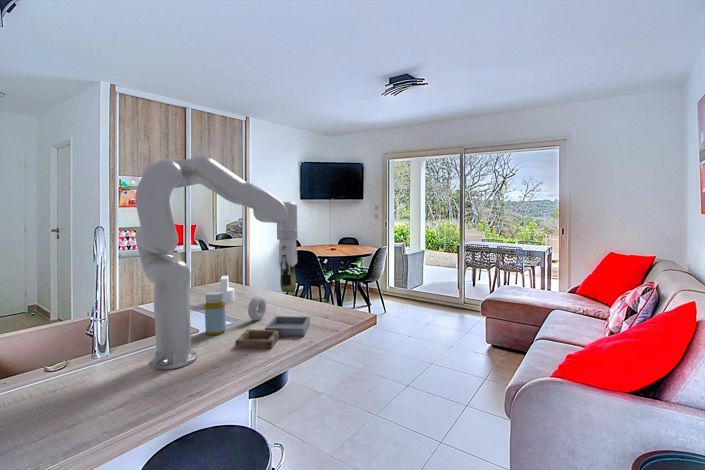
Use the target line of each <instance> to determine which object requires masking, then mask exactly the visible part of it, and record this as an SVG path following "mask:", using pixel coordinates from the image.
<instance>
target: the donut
mask: <svg viewBox="0 0 705 470" xmlns="http://www.w3.org/2000/svg"><path fill="white" fill-rule="evenodd" d="M266 310H267V302H266V300H265V298H264V297H263V296H260V295H256V296H254V297H253V298H251V300H250V301H249V304H248V308H247V312H248V317H249V318H250V320H252V321H260V320H261V319H263V317H264V316H265V314H266Z"/></svg>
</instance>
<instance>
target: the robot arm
mask: <svg viewBox="0 0 705 470" xmlns="http://www.w3.org/2000/svg"><path fill="white" fill-rule="evenodd" d="M199 184H200V185H202V186H204V187H205V188H207V189H209V190H210V191H212V192H213V193H215V194H217V195H218V196H220V197H221V198H223V199H224V200H226V201H228V202H231V203H233V204H236V205H238V206H239V205H240V206H244V207H247V208H250V209H252V213H253V217H254V218H255V219H256V220H257V221H259V222H260V223H268V224H269V223H270V224H276V240H278V242H279V243H278V244H279V245H278V247H279V248H278V262H279V263H278V264H279V267H280V266H281V265H282V266H281V267H282V285H283V286H290V285H291V275H290V266H291V267H293V266H294V265H295V266H296V265H297V264H298V251H297V250H298V249H297V248H298V247H297V240H298V205H297V203H295V202H294V201H282V200H280V199H279V198H277V197H276V196H274V195H273V194H272V193H270V192H269V191H266V190H265V189H263V188H261V187H258V186H257V185H254V184H253V183H251V182H248V181H246V180H244V179H243V178H241V177H240V176H238V175H236V174H235V173H233V172H232V171H231V170H229V169H228V168H226V167H225V166H224V165H222V164H220V163H219V162H218V161H216V160H215V159H213V158H211V157H209V156H206V155H199V156H195V157H191V158H186V159H185V158H184V159H181V160H180V159H179V160H171V159H161V160H158V161H154V162H152V163H150V164H148V165H147V166H146V167H144V169H143V171H142V177H141V179H140V180H139V182H138V183H137V188H136V191H135V197H134V198H135V199H134V200H135V205H136V206H135V207H136V210H137V212H136V213H137V216H138V221H139V224H140V226H139V227H138V229H137V231H136V234H135V242H136V247H137V251H138V254H139V258H140V262H141V264H142V268H143V271H144V275H145V276H146V278H147V279H148V280H149V282H151V283H153V284H154V292H153V293H154V294H153V313H154V327H155V328H154V329H155V330H154V332H155V334H154V335H155V356H153V357H152V358H151V360H150V361H149V363H148V367H149V368H150V369H157V370H171V369H177V368H178V369H179V368H182V367H184V366H188V365H190V364H191V363H193V362H195V361H196V360H197V358H198V354H197V351H195V350H193V349H192V337H191V334H192V333H191V313H190V312H191V309H190V287H191V279H192V277H191V271H190V268H189V266H188V265H187V263H186V262H185V261H183V260H182V259H180V258H178V257H176V256H175V252H174V251H175V250H176V249H177V247H178V244H179V235H178V232H177V229H176V225H175V222H174V218H173V213H172V209H171V202H170V201H171V200H170V199H171V195H172V193H173V191H174V190H175V189H177V188H178V189H179V188H183V187H189V186H195V185H199ZM281 263H282V264H281ZM286 265H288V266H286ZM281 267H280V268H281ZM287 268H288V269H287Z"/></svg>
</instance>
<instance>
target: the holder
mask: <svg viewBox="0 0 705 470" xmlns="http://www.w3.org/2000/svg"><path fill="white" fill-rule="evenodd" d="M280 338H281V336H280V330H265V329H246V330H245V331H244V332H243V333H242V334H241V335H240V336H238V338H237V339H235V349H254V350H255V349H257V350H258V349H259V350H261V349H262V350H264V349H265V350H272V349H273V348H274V346H275V345H276V343H277V342H278V340H279V339H280Z"/></svg>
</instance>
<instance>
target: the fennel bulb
mask: <svg viewBox="0 0 705 470" xmlns="http://www.w3.org/2000/svg"><path fill="white" fill-rule="evenodd" d="M281 264H282V263H281ZM281 266H282V265H281ZM281 266H280V265H279V267H280V280H279V281H280V282H279V283H280V289H281V292H283V293H287V294H289V293H294V292H295V290H296V289H297V278H296V271H295V266H296V264H295V265H294V266H293V267H291V266H290V275H291V285H290V286H283V285H282V267H281ZM286 266H288V265H286ZM287 269H288V268H287Z"/></svg>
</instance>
